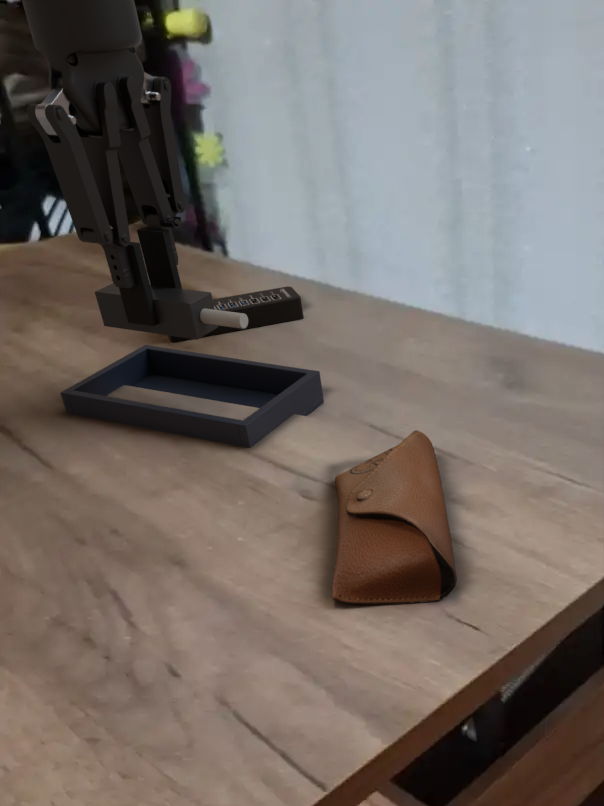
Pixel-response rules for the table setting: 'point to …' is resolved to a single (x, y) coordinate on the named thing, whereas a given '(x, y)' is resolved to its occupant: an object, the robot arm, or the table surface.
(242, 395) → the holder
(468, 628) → the table surface
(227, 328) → the multiport hub
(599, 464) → the table surface
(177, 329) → the black block with peg
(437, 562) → the sunglasses case
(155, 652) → the table surface
